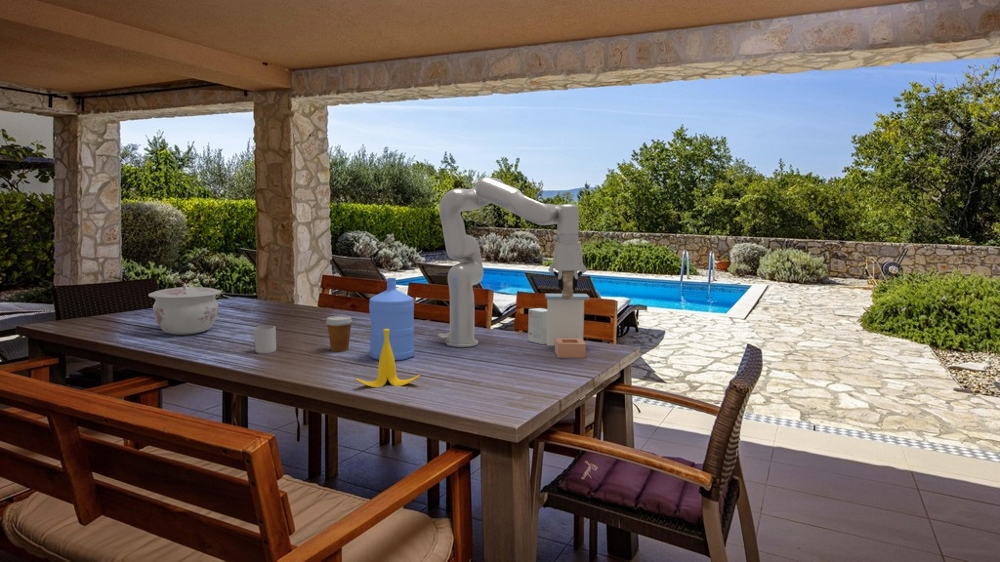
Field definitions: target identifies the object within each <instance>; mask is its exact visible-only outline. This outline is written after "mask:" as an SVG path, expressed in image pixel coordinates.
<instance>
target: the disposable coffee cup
mask: <svg viewBox="0 0 1000 562" xmlns="http://www.w3.org/2000/svg"><path fill="white" fill-rule="evenodd" d="M352 322H353V320H352V317H351V316H347V315H334V316H328V317H327V318H326V320H325V323H326V325H327V331H328V333H327V334H328V337H329V345H330V346H329V347H330V351H332V352H345V351H348V350H349V346H350V338H351V337H350V336H351V328H352Z"/></svg>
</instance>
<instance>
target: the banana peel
mask: <svg viewBox="0 0 1000 562" xmlns="http://www.w3.org/2000/svg"><path fill="white" fill-rule="evenodd" d="M383 331H384V345H383V348H382V351H381V355H380V359H379V360H378V367H377V370H378V371H377V377H376V379H375V380H374V381H366V380H362V379H359V378H355V381H357V382H358V383H360V384H363V385H366V386H368V387H370V388H371V387H372V388H380V387H384V386H385V385H386V383H387V381H388V382H389V384H390V385H392V386H394V387H403V386H404V385H408V384H410V383H411V382H414V381H415V380H417V379H418V378H419V377H420V376H421V375H420V374H417V375H415V377H411V378H408V379H400V378H398V376H397V369H396V368H397V367H396V361H395V360H394V356H393V352H392V349H391V346H390V343H389V331H390V330H389V329H384V330H383Z"/></svg>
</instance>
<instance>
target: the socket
mask: <svg viewBox="0 0 1000 562" xmlns="http://www.w3.org/2000/svg"><path fill="white" fill-rule="evenodd" d="M586 349H587V344H586V342H585V340H584V338H583V339H582V338H555V346H554V353H555V355H556V358H562V359H563V358H564V359H567V358H568V359H570V358H573V359H574V358H575V359H579V358H580V359H583V358H584V359H586V356H587V355H586V353H587V350H586Z"/></svg>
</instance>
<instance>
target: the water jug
mask: <svg viewBox="0 0 1000 562" xmlns="http://www.w3.org/2000/svg"><path fill="white" fill-rule="evenodd" d="M396 280H397V278H396V277H386V282H387V283H386V290H383V291H381V292H380V293H378V294H376V295H374V296H372V297H370V298H369V305H368V309H369V318H370V337H369V347H370V348H369V356H370V358H372V359H373V360H377V361H379V359H380V355H381V351H382V348H383V345H384V331H383V330H384V329H389V330H390V331H389V343H390V346H391V349H392V352H393V356H394V360H395V362H396V361H405V360H408V359H410V358H412V357H414V355H415V338H414V337H415V336H414V334H415V325H414V321H415V319H414V318H415V317H414V316H415V315H414V313H415V312H414V311H415V302H414V298H413V297H412V296H410V295H408V294H406V293H404V292H402V291H399V290H398V289H397V281H396Z"/></svg>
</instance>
